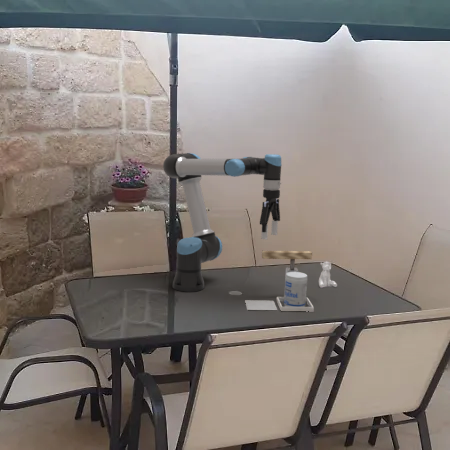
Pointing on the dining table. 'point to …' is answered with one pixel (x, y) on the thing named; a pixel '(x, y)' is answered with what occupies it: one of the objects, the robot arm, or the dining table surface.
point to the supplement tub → (295, 289)
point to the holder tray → (310, 308)
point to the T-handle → (287, 255)
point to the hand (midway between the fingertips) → (269, 236)
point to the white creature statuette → (326, 276)
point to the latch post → (290, 270)
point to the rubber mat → (260, 305)
